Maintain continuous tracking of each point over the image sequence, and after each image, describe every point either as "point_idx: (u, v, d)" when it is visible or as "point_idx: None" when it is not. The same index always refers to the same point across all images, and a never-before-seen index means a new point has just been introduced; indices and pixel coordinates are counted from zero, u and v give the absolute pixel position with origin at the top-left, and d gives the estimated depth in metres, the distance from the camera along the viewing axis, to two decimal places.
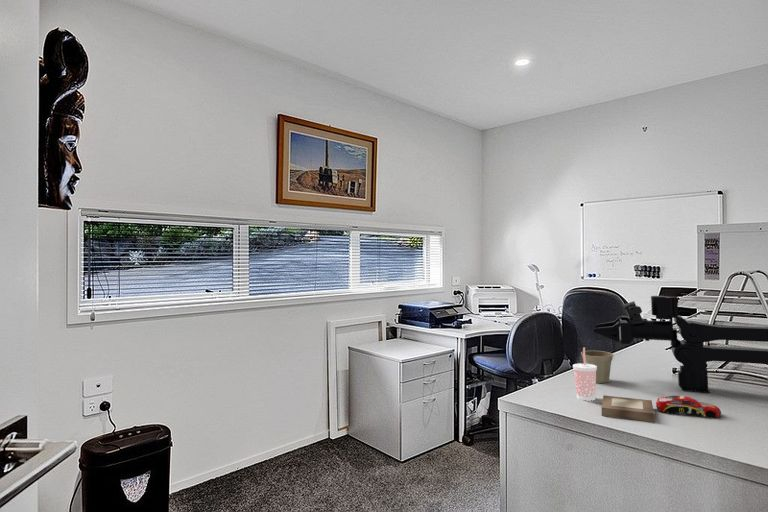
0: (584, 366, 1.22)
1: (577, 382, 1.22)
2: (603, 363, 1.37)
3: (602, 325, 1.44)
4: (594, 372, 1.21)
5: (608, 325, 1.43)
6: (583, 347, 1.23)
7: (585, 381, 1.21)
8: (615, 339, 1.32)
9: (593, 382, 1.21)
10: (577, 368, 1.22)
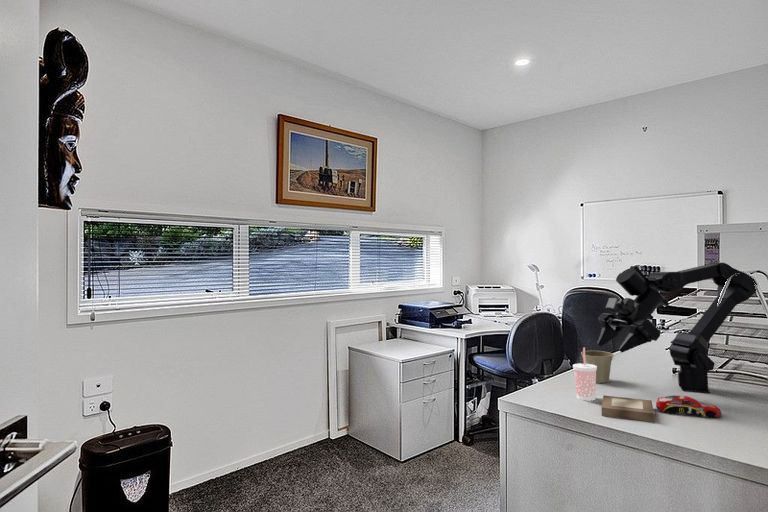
0: (584, 366, 1.22)
1: (577, 382, 1.22)
2: (603, 363, 1.37)
3: (602, 339, 1.29)
4: (594, 372, 1.21)
5: (605, 334, 1.30)
6: (583, 347, 1.23)
7: (585, 381, 1.21)
8: (644, 341, 1.19)
9: (593, 382, 1.21)
10: (577, 368, 1.22)
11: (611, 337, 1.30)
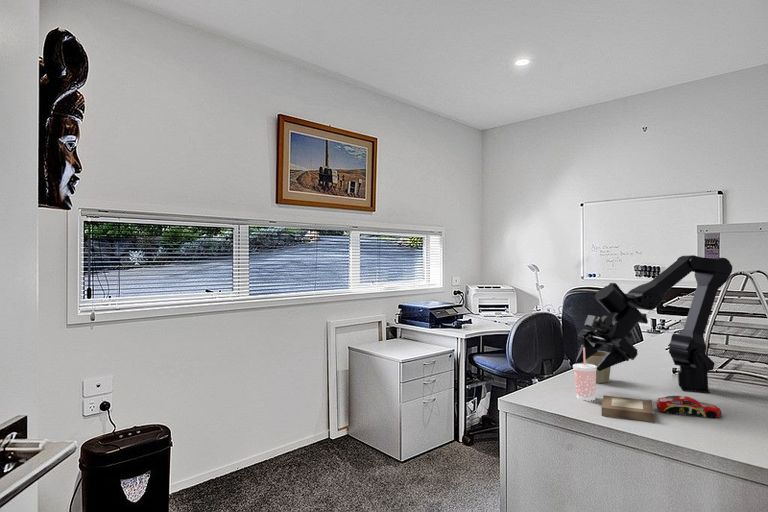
0: (584, 366, 1.22)
1: (577, 382, 1.22)
2: None
3: (581, 356, 1.28)
4: (594, 372, 1.21)
5: None
6: (583, 347, 1.23)
7: (585, 381, 1.21)
8: (621, 360, 1.18)
9: (593, 382, 1.21)
10: (577, 368, 1.22)
11: (590, 354, 1.29)
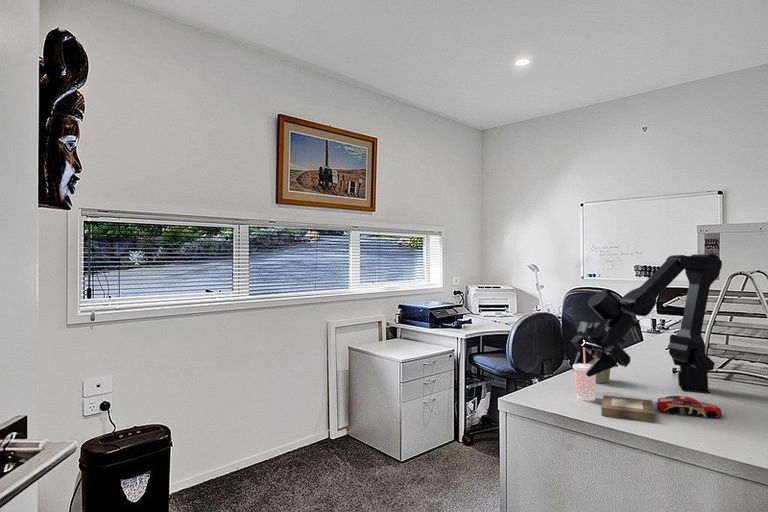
0: (584, 366, 1.22)
1: (577, 382, 1.22)
2: None
3: None
4: None
5: (580, 359, 1.27)
6: (583, 347, 1.23)
7: (585, 381, 1.21)
8: (611, 366, 1.19)
9: (593, 382, 1.21)
10: (577, 368, 1.22)
11: (586, 361, 1.27)
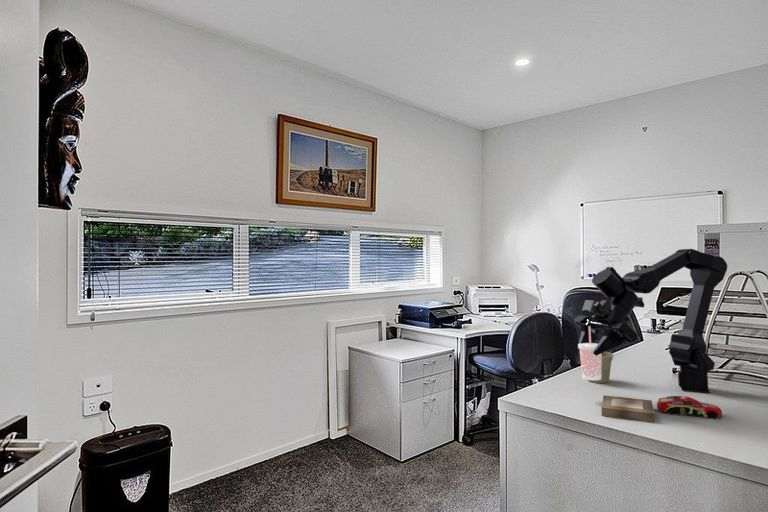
0: (590, 345, 1.20)
1: (583, 362, 1.20)
2: (603, 363, 1.37)
3: None
4: None
5: (585, 338, 1.24)
6: (588, 326, 1.21)
7: (592, 360, 1.18)
8: (618, 343, 1.17)
9: (599, 361, 1.19)
10: (583, 347, 1.19)
11: (591, 341, 1.25)
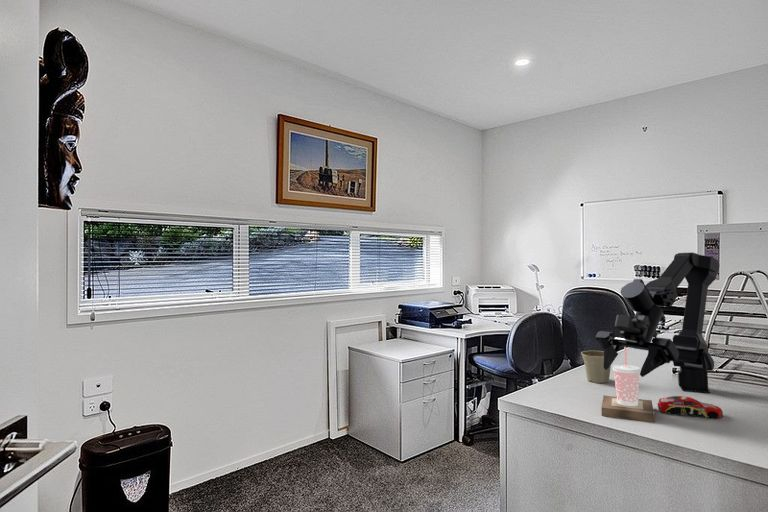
0: (627, 367, 1.10)
1: (621, 386, 1.10)
2: (603, 363, 1.37)
3: (607, 361, 1.15)
4: (638, 373, 1.10)
5: (609, 356, 1.16)
6: None
7: (632, 384, 1.09)
8: (662, 362, 1.08)
9: (638, 384, 1.10)
10: (623, 370, 1.09)
11: (613, 358, 1.17)
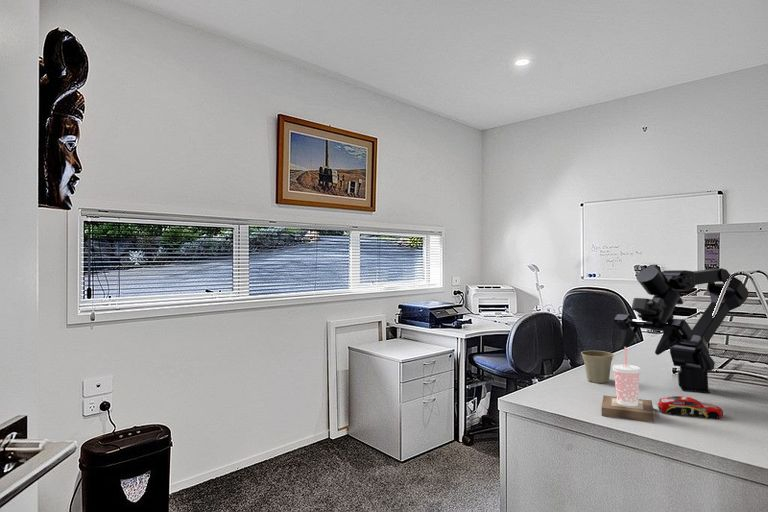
0: (628, 367, 1.10)
1: (621, 386, 1.10)
2: (603, 363, 1.37)
3: (625, 342, 1.23)
4: (638, 373, 1.10)
5: (627, 336, 1.24)
6: None
7: (632, 384, 1.09)
8: (676, 342, 1.15)
9: (638, 384, 1.10)
10: (623, 370, 1.09)
11: (631, 339, 1.25)
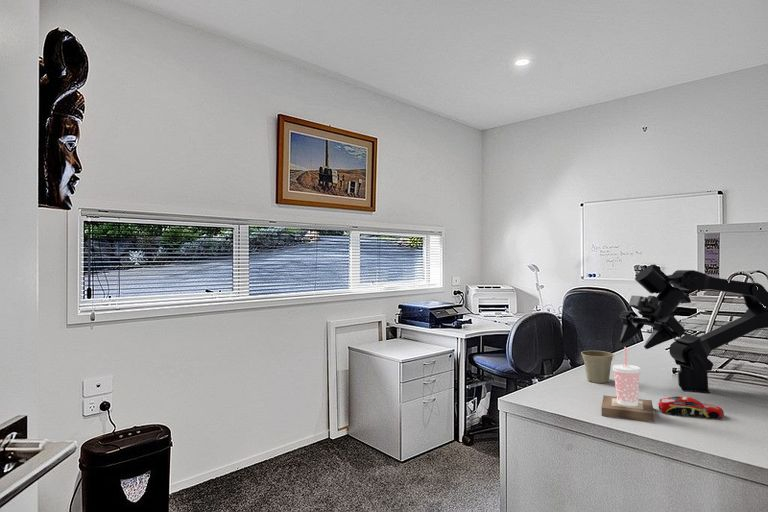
0: (628, 367, 1.10)
1: (621, 386, 1.10)
2: (603, 363, 1.37)
3: (624, 336, 1.31)
4: (638, 373, 1.10)
5: (627, 332, 1.32)
6: None
7: (632, 384, 1.09)
8: (668, 338, 1.21)
9: (638, 384, 1.10)
10: (623, 370, 1.09)
11: (633, 334, 1.32)
